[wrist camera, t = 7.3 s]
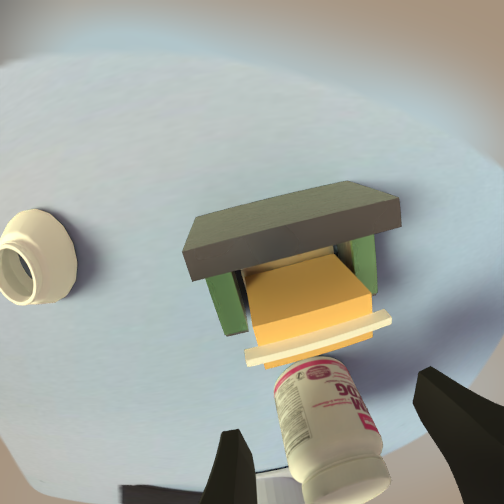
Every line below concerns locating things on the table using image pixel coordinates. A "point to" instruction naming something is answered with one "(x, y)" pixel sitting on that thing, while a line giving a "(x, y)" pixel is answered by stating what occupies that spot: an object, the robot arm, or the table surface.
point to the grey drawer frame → (287, 239)
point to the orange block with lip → (308, 311)
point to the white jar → (36, 259)
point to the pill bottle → (329, 434)
